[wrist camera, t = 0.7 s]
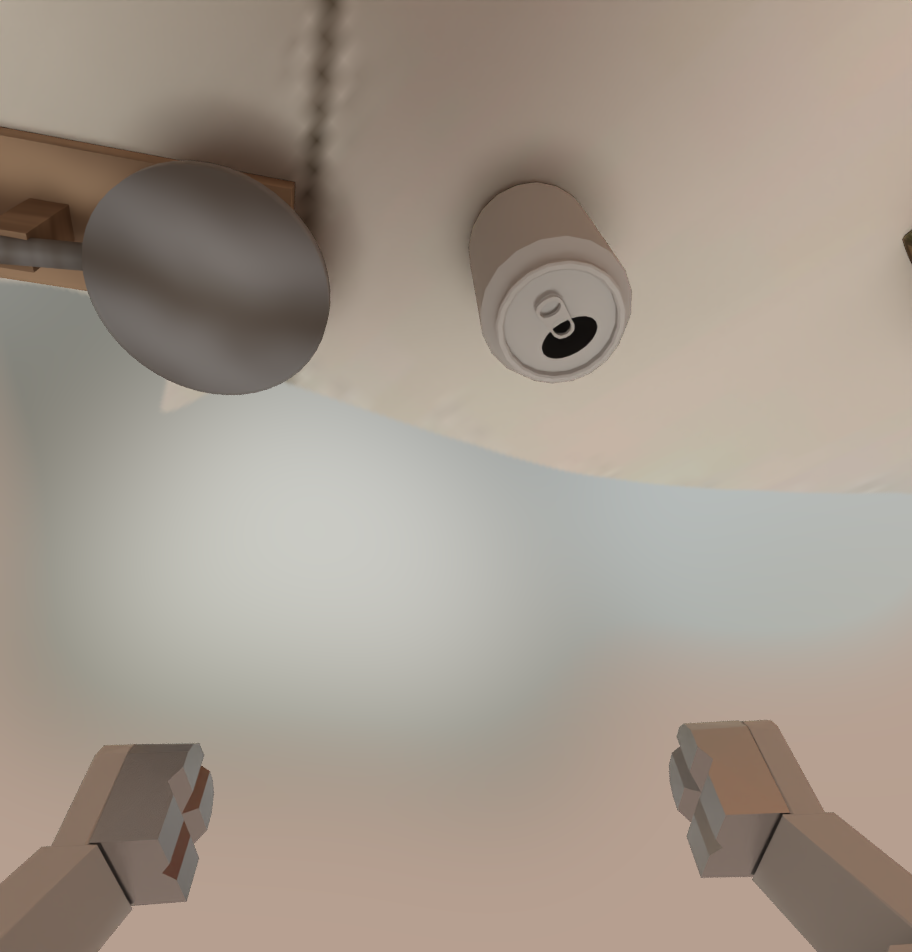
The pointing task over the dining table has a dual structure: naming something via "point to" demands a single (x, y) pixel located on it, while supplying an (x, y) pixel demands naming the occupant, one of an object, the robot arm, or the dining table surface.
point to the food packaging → (908, 244)
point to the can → (546, 284)
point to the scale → (169, 257)
